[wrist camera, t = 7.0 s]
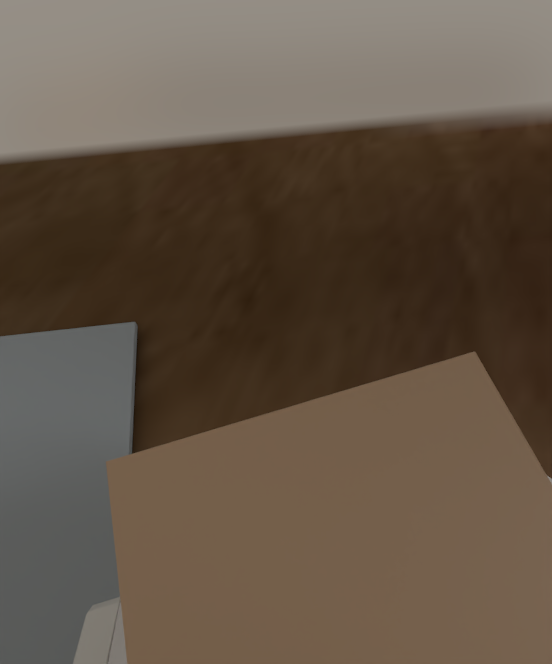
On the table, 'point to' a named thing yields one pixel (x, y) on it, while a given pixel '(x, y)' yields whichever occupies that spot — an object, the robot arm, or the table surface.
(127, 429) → the slate mat
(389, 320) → the table surface
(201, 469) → the cream block
